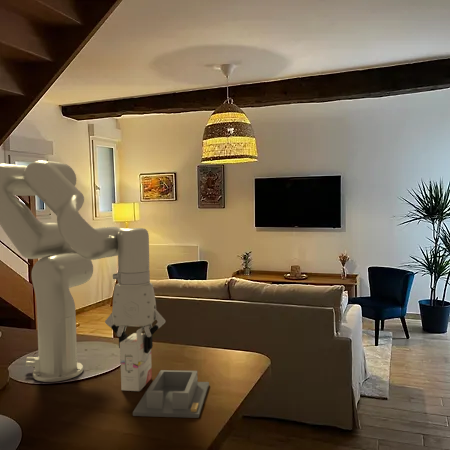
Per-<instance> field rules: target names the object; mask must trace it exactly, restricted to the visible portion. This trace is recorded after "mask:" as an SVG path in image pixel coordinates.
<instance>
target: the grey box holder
mask: <svg viewBox="0 0 450 450" xmlns="http://www.w3.org/2000/svg"><path fill="white" fill-rule="evenodd" d="M198 380H199V379H198V370H180V369H179V370H176V369H174V370H173V369H172V370H171V369H170V370H169V369H168V370H167V369H160V371H159V372H158V374H157V375H156V377H155V378H154V380H152V382H151V383H150V385H149V386H148V388H147V389H146V390H145V392H144V394H143V396H142V397H141V399H140V400H139V402H138V403H137V405H136V406H135V408H134V410H133V411H132V416H133V417H152V418H153V417H163V418H188V419H189V418H190V419H191V418H194V419H195V418H196V419H197V418H198V419H199V417H200V416H201V411H202V409H203V404H204V403H205V399H206V396H207V393H208V389H209V387H210V382H209V381H198Z"/></svg>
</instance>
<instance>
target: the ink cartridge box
mask: <svg viewBox="0 0 450 450" xmlns="http://www.w3.org/2000/svg"><path fill="white" fill-rule="evenodd" d="M135 331H136V332H133V333H132V334H129V336H127V338H126V339H125V340H123V341H122V342H120V348H119V359H120V360H119V361H120V382H121V383H120V384H121V385H120V386H121V391H128V392H130V391H131V392H140V391H142V390H143V388H144V387H145V386H146V385H147V384H148V383H149V382H150V381H151V380H152V378H153V377H152V376H153V375H152V349H151V350H150V351H149V352H148V353H145V344H144V338H145V337H146V332H145V330H144V327H143V326H140V328H138V329H137V330H135ZM143 332H144V333H143Z"/></svg>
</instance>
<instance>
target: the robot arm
mask: <svg viewBox="0 0 450 450" xmlns="http://www.w3.org/2000/svg"><path fill="white" fill-rule="evenodd" d="M76 184H77V174H76V172H75V170H74V169H73V168H72V167H71V166H70V165H68V164H66V163H64V162H58V161H51V160H50V161H49V160H35V161H33V162H31V163H29V164H28V165H20V164H19V165H18V164H11V163H0V227H1V228H2V230H3V232H4V233H5V234H6V236H7V238H9V240H10V241H11V243H12V244H13V245H14V247H15V249H16V250H17V251H18V253H19V254H20V255H21V256H22V257H24V258H25V259H29V260H36V259H38V260H37V261H36V262H35V263H34V265H33V266H32V269H31V274H30V275H31V282H32V286H33V290H34V294H35V302H36V318H37V319H36V322H37V347H38V349H37V352H38V356H36V357H35V356H27V357H26V359H25V367H29V368H30V367H34V370H33V372H32V379H34V380H36V381H38V382H45V383H55V382H56V383H57V382H61V381H67V380H70V379H72V378H76V377H78V376H79V375H81V374H82V373H83V371H84V364H82V363H81V362H78V352H77V351H78V349H77V345H78V344H77V319H76V318H77V317H76V316H77V313H76V303H75V300H74V297H73V295H72V293H71V291H70V288H73V287H77V286H80V285H81V286H82V285H84V284H85V283H87V282H88V281H89V280H90V279H91V278H92V277H93V274H94V265H93V261H94V260H100V259H105V258H112V257H117V266H118V267H117V273H113V274H112V279H113V280H117V283H116V284H115V286H114V289H113V295H112V296H113V298H112V312H111V313H110V314H109V315H108V317H107V318H106V319H105V321H104V323H105V324H106V325H107V326H108V327H109V328H111V330H112V331H113V332H114V334H116V337H118V348H119V349H120V342H122V341H123V340H125V339H126V338H127V337H128V334H127V333H126V329H127V327H144V330H143V331H144V333H145V332H146V337H145V338H144V344H145V353H148V352H149V351H150V350H151V351H152V349H153V335H154V333H156V332H157V331H158V329H160V328H162V326H164V324H166V319H165V318H164V317H163V315H162V314H161V313H160V312H159V311H158V310H157V302H156V295H155V294H156V293H155V290H154V285H153V282H150V281H151V280H150V278H151V277H150V276H151V275H150V274H151V273H150V237H149V236H150V235H149V234H150V233H149V231H148V230H147V229H146V228H143V227H129V228H128V227H127V228H123V227H117V226H107V227H105V226H102V227H93V226H91V225H90V223H88V222H87V221H86V220H85V219H84V218H83V216H82V215H81V214H80V213H79V211H80V210H81V209H82V207H83V205H84V203H85V197H84V194H83V193H82V192H81V191H80V190H79V189H78V188H77V187H76ZM15 196H20V197H21V196H23V197H24V196H27V197H31V196H32V197H33V196H34V197H35V196H37V197H38V198H39V199H40V200H41V201H42V202H43V203H44V204H45V206H47V207H48V209H50V210H51V211H52V213H54V215H55V216H56V222H41V221H40V220H39V219H38V218H37V217H36V215H34V214H33V212H32V211H31V209H30V208H29V206H27V205H26V204H25V203H23V202H22V201H21V200H19V199H18V198H16V197H15ZM155 321H157V322H156V324H154V325H153V323H154V322H155Z"/></svg>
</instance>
